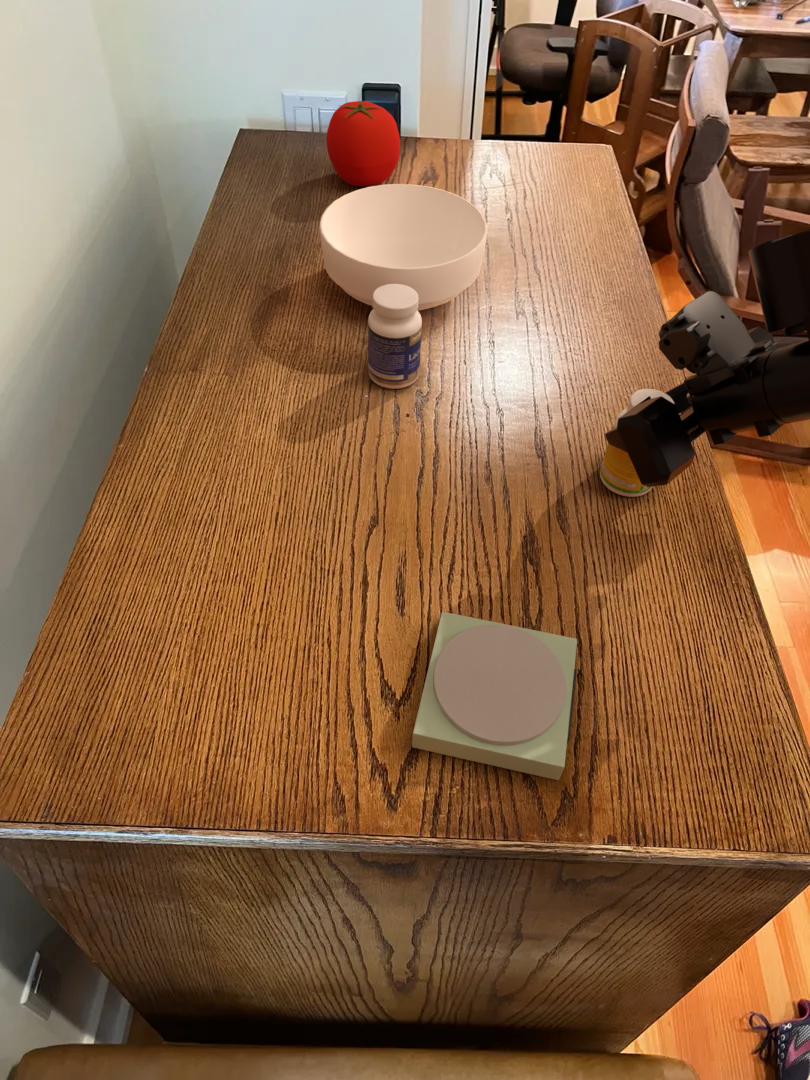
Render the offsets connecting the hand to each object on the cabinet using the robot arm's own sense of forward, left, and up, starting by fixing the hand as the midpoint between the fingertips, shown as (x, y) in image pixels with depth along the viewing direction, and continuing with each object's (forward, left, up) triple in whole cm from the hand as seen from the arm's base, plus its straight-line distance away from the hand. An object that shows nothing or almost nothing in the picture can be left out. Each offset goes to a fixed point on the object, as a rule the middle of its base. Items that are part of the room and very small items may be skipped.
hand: (631, 421), depth 71 cm
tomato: (+40, -52, -7) cm, 66 cm away
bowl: (+28, -26, -7) cm, 39 cm away
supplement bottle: (-1, +1, -7) cm, 7 cm away
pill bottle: (+25, -9, -7) cm, 27 cm away
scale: (+8, +28, -7) cm, 30 cm away
